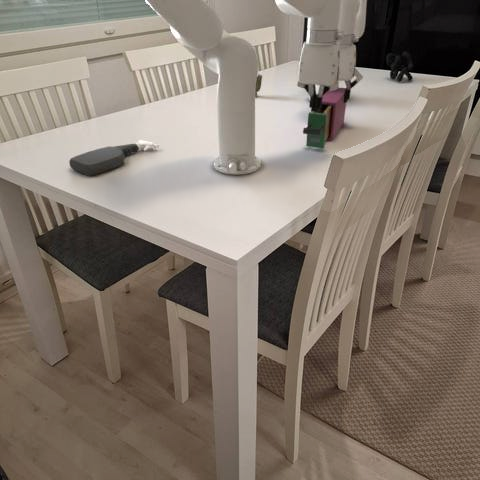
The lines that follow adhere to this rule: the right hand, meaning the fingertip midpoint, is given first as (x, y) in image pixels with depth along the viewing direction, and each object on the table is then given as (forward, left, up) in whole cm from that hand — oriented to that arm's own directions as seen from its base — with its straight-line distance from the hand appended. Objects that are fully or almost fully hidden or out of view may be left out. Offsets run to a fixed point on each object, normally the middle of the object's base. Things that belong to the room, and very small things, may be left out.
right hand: (334, 100), depth 143 cm
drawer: (+18, -5, -7) cm, 20 cm away
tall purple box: (+5, -2, -8) cm, 10 cm away
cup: (-36, -30, -8) cm, 47 cm away
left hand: (+25, -7, +4) cm, 26 cm away
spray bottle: (+35, -61, -8) cm, 71 cm away
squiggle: (-68, +33, -8) cm, 76 cm away
